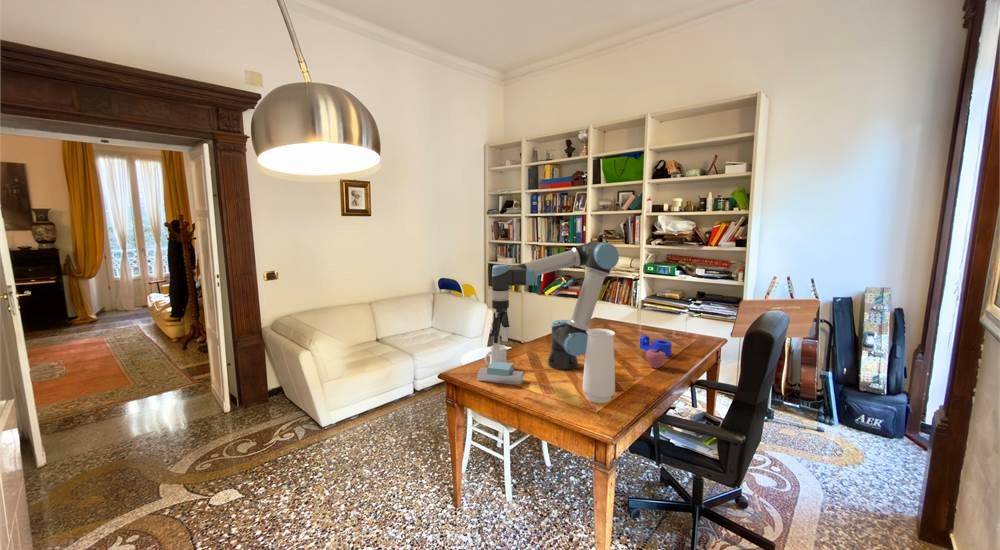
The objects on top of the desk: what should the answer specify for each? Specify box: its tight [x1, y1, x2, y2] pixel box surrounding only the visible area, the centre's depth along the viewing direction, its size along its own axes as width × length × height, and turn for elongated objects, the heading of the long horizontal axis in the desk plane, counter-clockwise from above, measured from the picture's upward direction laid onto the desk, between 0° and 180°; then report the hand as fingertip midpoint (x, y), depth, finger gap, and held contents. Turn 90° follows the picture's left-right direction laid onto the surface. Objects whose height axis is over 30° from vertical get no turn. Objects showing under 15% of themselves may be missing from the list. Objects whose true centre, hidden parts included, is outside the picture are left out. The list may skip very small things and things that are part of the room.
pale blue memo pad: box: [486, 361, 514, 376], centre depth 183 cm, size 10×9×6 cm
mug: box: [484, 344, 507, 367], centre depth 199 cm, size 12×8×10 cm
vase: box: [582, 327, 616, 404], centre depth 163 cm, size 13×13×28 cm
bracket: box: [639, 334, 673, 358], centre depth 222 cm, size 20×9×8 cm, turn 21°
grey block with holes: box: [477, 366, 524, 386], centre depth 183 cm, size 20×6×4 cm, turn 74°
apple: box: [645, 349, 667, 369], centre depth 199 cm, size 10×9×10 cm
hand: (500, 345), depth 181 cm, fingers open, 13 cm apart
